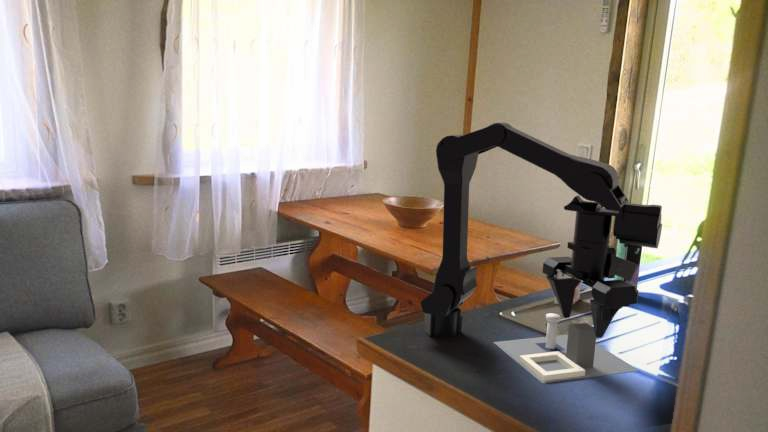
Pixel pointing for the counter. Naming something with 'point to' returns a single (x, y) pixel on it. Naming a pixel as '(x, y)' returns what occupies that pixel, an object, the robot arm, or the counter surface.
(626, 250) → the spray can
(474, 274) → the robot arm
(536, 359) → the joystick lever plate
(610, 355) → the hook board
